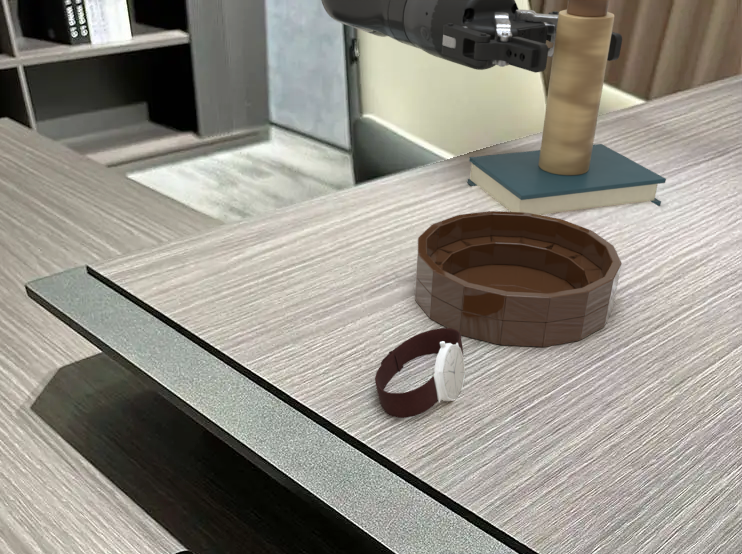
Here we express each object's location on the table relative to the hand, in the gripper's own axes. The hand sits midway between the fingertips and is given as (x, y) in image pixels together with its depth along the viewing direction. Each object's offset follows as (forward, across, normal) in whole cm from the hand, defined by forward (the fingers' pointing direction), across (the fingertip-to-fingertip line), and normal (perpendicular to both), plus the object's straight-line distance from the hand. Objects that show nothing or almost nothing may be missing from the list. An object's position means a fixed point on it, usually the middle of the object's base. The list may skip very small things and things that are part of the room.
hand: (582, 53), depth 68 cm
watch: (+18, -29, +13) cm, 37 cm away
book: (0, 0, +12) cm, 12 cm away
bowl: (+13, -18, +12) cm, 25 cm away
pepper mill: (0, 0, +10) cm, 10 cm away
